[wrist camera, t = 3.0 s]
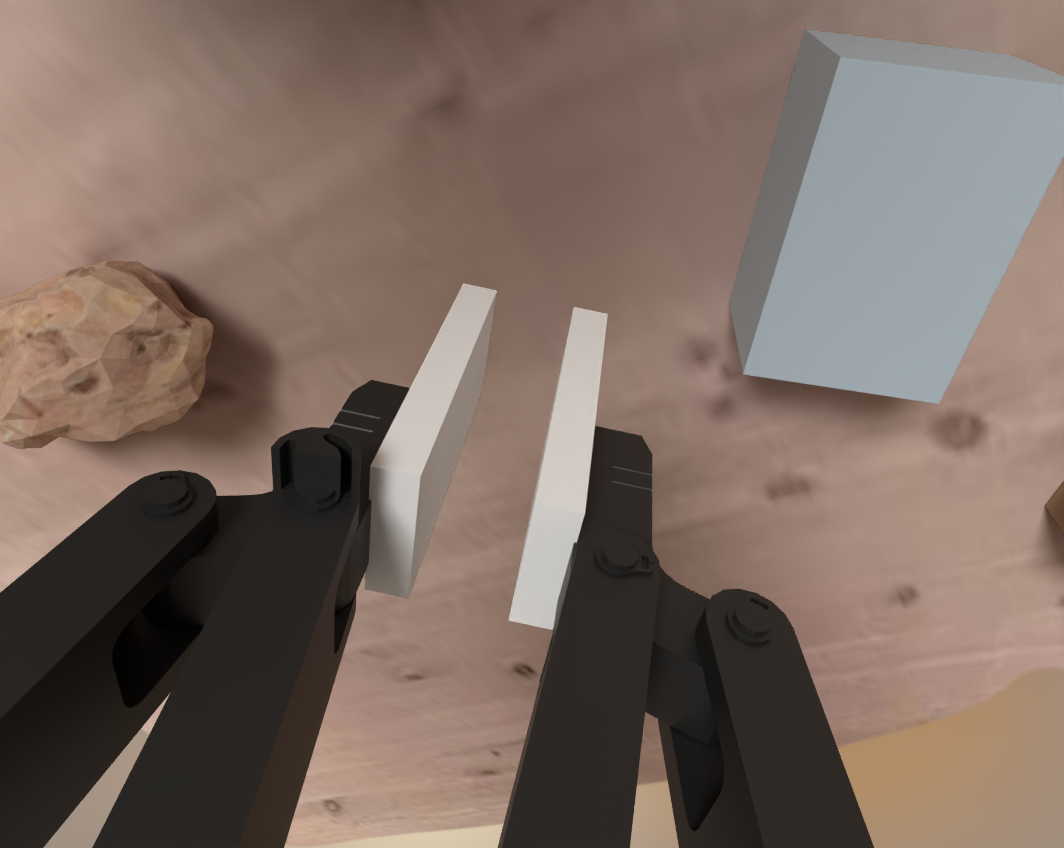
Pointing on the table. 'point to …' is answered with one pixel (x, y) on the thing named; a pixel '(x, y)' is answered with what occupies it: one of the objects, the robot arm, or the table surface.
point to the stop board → (1057, 507)
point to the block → (891, 211)
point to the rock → (97, 356)
